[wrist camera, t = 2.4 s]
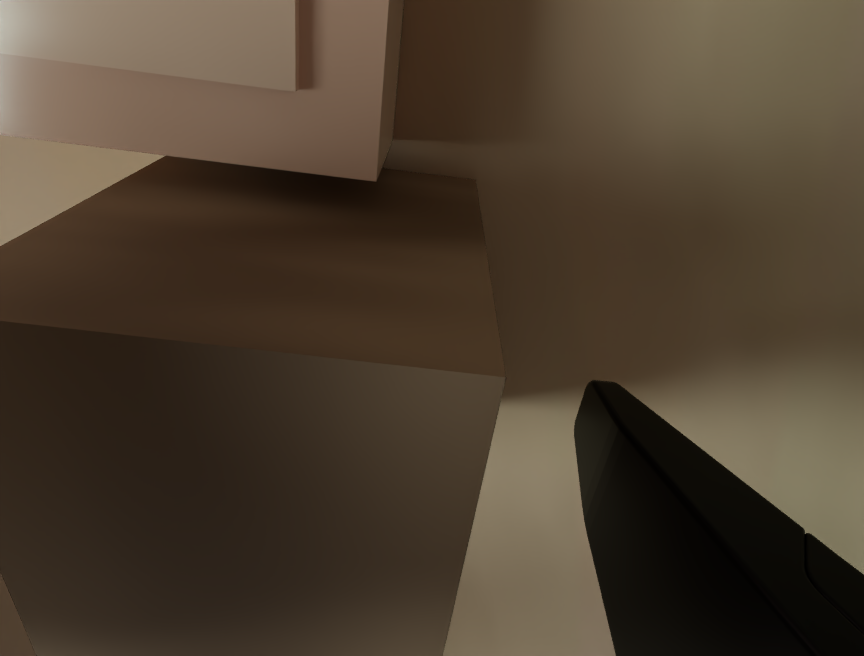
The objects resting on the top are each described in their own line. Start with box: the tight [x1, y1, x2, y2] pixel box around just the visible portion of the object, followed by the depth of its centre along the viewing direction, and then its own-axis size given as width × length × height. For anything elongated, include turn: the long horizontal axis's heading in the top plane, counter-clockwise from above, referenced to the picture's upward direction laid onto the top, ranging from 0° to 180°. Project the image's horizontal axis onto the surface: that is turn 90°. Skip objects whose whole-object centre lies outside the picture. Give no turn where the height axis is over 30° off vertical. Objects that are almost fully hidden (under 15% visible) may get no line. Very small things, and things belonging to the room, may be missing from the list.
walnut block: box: [0, 156, 506, 656], centre depth 8 cm, size 5×5×6 cm
